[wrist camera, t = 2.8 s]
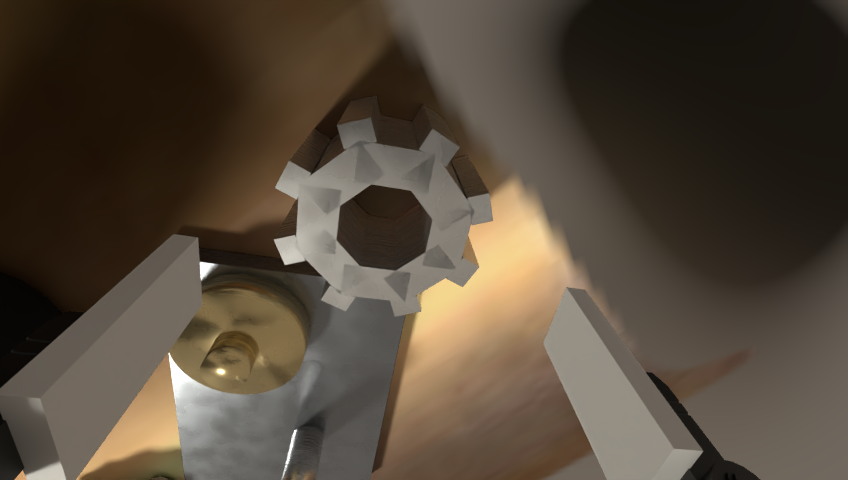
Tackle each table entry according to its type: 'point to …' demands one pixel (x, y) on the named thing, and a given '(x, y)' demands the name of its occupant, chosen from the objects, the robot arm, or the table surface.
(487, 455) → the table surface
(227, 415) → the carrier
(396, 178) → the planet gear
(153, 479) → the stone
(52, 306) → the coffee jar
